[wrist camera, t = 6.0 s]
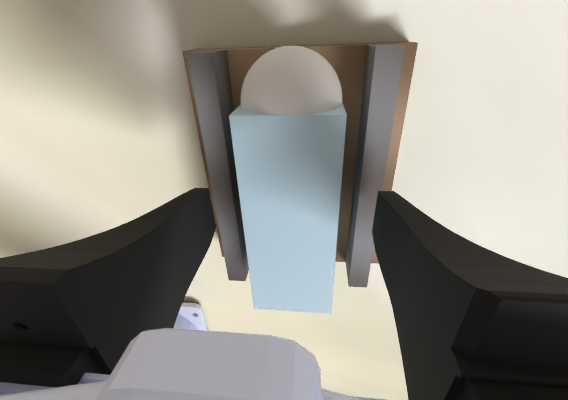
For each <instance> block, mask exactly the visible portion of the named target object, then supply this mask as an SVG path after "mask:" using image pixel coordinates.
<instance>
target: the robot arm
mask: <svg viewBox="0 0 568 400" xmlns="http://www.w3.org/2000/svg"><path fill="white" fill-rule="evenodd" d="M215 229H216V223H215V218H214V213H213V208H212V203H211V197H210V192H209V188H194V189H192V190H190V191H188V192H186V193H184V194H182V195H180V196H178V197H176V198H175V199H173V200H171V201H169V202H167V203H165V204H164V205H162V206H160V207H158V208H156V209H154V210H152V211H150V212H148V213H146V214H144V215H142V216H140V217H139V218H136V219H134V220H132V221H130V222H128V223H125V224H123V225H120V226H118V227H116V228H113V229H110V230H108V231H105V232H102V233H99V234H96V235H93V236H90V237H87V238H84V239H81V240H78V241H74V242H71V243H67V244H64V245H60V246H56V247H52V248H48V249H44V250H39V251H34V252H30V253H25V254H20V255H15V256H10V257H5V258H0V400H384V399H373V398H362V397H350V396H347V395H343V394H340V393H336V392H332V391H329V390H325V389H322V388H321V378H320V368H319V365H318V363H317V360H316V358H315V356H314V355H313V354H312V353H311V352H310V351H308V350H307V349H305V348H304V347H302V346H301V345H299V344H298V343H296V342H295V341H293V340H289V339H284V338H280V337H276V336H272V335H258V334H244V333H230V332H216V331H208V329H207V326H206V322H205V318H204V315H203V311H202V308H201V306H200V305H199V304H197V303H184V302H183V300H184V297H185V295H186V293H187V290H188V288H189V286H190V284H191V282H192V280H193V278H194V276H195V274H196V272H197V270H198V268H199V266H200V264H201V262H202V261H203V259H204V257H205V255H206V253H207V251H208V248H209V246H210V244H211V241H212V238H213V235H214V232H215ZM372 235H373V241H374V247H375V252H376V256H377V259H378V262H379V265H380V268H381V271H382V274H383V278H384V281H385V284H386V287H387V290H388V293H389V296H390V300H391V304H392V307H393V312H394V317H395V322H396V327H397V332H398V338H399V343H400V349H401V354H402V360H403V367H404V373H405V379H406V385H407V392H408V399H409V400H568V278H565V277H562V276H559V275H555V274H552V273H549V272H545V271H542V270H539V269H537V268H534V267H531V266H528V265H525V264H522V263H520V262H517V261H514V260H512V259H509V258H507V257H504V256H502V255H499V254H497V253H495V252H492V251H490V250H488V249H486V248H483V247H481V246H479V245H477V244H475V243H473V242H471V241H469V240H467V239H465V238H463V237H461V236H459V235H458V234H456V233H454V232H452V231H450V230H449V229H447V228H445V227H444V226H442V225H441V224H439V223H438V222H436V221H434V220H433V219H431V218H430V217H429V216H427V215H426V214H424V213H423V212H421V211H420V210H419V209H417V208H416V207H415V206H413V205H412V204H411V203H409V202H408V201H407V200H405V199H404V198H403V197H401V196H400V195H399V194H397V193H396V192H394V191H378V194H377V201H376V208H375V214H374V221H373V228H372Z"/></svg>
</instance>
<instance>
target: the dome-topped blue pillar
mask: <svg viewBox="0 0 568 400" xmlns="http://www.w3.org/2000/svg"><path fill="white" fill-rule="evenodd" d="M346 118H347V114H346V111H345V108H344V106H343V103H342V89H341V85H340V81H339V78H338V76H337V74H336V72H335V70H334V69H333V67H332V66H331V65H330V63H329V62H328V61H327V60H326V59H325V58H324V57H322V56H321V55H320V54H318V53H317V52H315V51H313V50H311V49H308V48H305V47H301V46H282V47H279V48H275V49H273V50H271V51H269V52H267V53H265V54H264V55H262V56H261V57H260V58H259V59H258V60H257V61H256V62H255V63H254V64H253V65H252V67H251V68H250V69H249V71H248V73H247V75H246V77H245V79H244V82H243V85H242V90H241V105H240V106H239V107H238V108H237V109H236V110H234V111H233V112H232V113H231V114H230V115H229V120H230V128H231V135H232V143H233V151H234V159H235V166H236V174H237V182H238V189H239V197H240V205H241V212H242V220H243V228H244V236H245V243H246V251H247V259H248V266H249V274H250V282H251V289H252V297H253V305H254V309H267V310H283V311H298V312H314V313H329V314H331V309H332V296H333V283H334V271H335V258H336V245H337V232H338V220H339V207H340V194H341V182H342V169H343V156H344V144H345V131H346Z"/></svg>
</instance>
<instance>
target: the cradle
mask: <svg viewBox="0 0 568 400" xmlns="http://www.w3.org/2000/svg"><path fill="white" fill-rule="evenodd" d="M417 44H418V43H416V42H392V43H365V44H338V45H310V46H301V47H305V48H308V49H311V50H313V51H315V52H317V53H318V54H320V55H321V56H322V57H324V58H325V59H326V60H327V61H328V62H329V63H330V65H331V66H332V67H333V69H334V70H335V72H336V74H337V76H338V78H339V81H340V85H341V89H342V103H343V106H344V108H345V111H346V114H347V118H346V131H345V144H344V156H343V169H342V182H341V194H340V207H339V220H338V232H337V245H336V258H335V261H336V262H346V268H347V276H348V284H349V286H352V287H367V283H368V276H369V270H370V264H371V263H379V262H378V259H377V256H376V252H375V247H374V241H373V235H372V228H373V221H374V214H375V208H376V201H377V194H378V191H391V190H392V185H393V179H394V173H395V168H396V162H397V157H398V151H399V145H400V140H401V134H402V129H403V123H404V117H405V112H406V106H407V100H408V95H409V89H410V84H411V78H412V72H413V67H414V61H415V56H416V50H417ZM275 48H279V47H256V48H229V49H202V50H188V51H183V56H184V61H185V66H186V71H187V76H188V81H189V87H190V92H191V97H192V102H193V107H194V113H195V118H196V123H197V128H198V133H199V139H200V144H201V149H202V154H203V159H204V164H205V170H206V175H207V180H208V185H209V190H210V196H211V201H212V206H213V211H214V216H215V222H216V227H217V232H218V237H219V242H220V247H221V253H222V257H225V262H226V267H227V273H228V278H229V280H236V281H246V277H247V274H248V270H249V266H248V259H247V251H246V243H245V236H244V228H243V220H242V212H241V205H240V197H239V189H238V182H237V174H236V166H235V159H234V151H233V143H232V135H231V128H230V120H229V115H230V114H231V113H232V112H233V111H234V110H236V109H237V108H238V107H239V106H240V105H241V90H242V85H243V82H244V79H245V77H246V75H247V73H248V71H249V69H250V68H251V67H252V65H253V64H254V63H255V62H256V61H257V60H258V59H259V58H260V57H261V56H262V55H264V54H265V53H267V52H269V51H271V50H273V49H275Z"/></svg>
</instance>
